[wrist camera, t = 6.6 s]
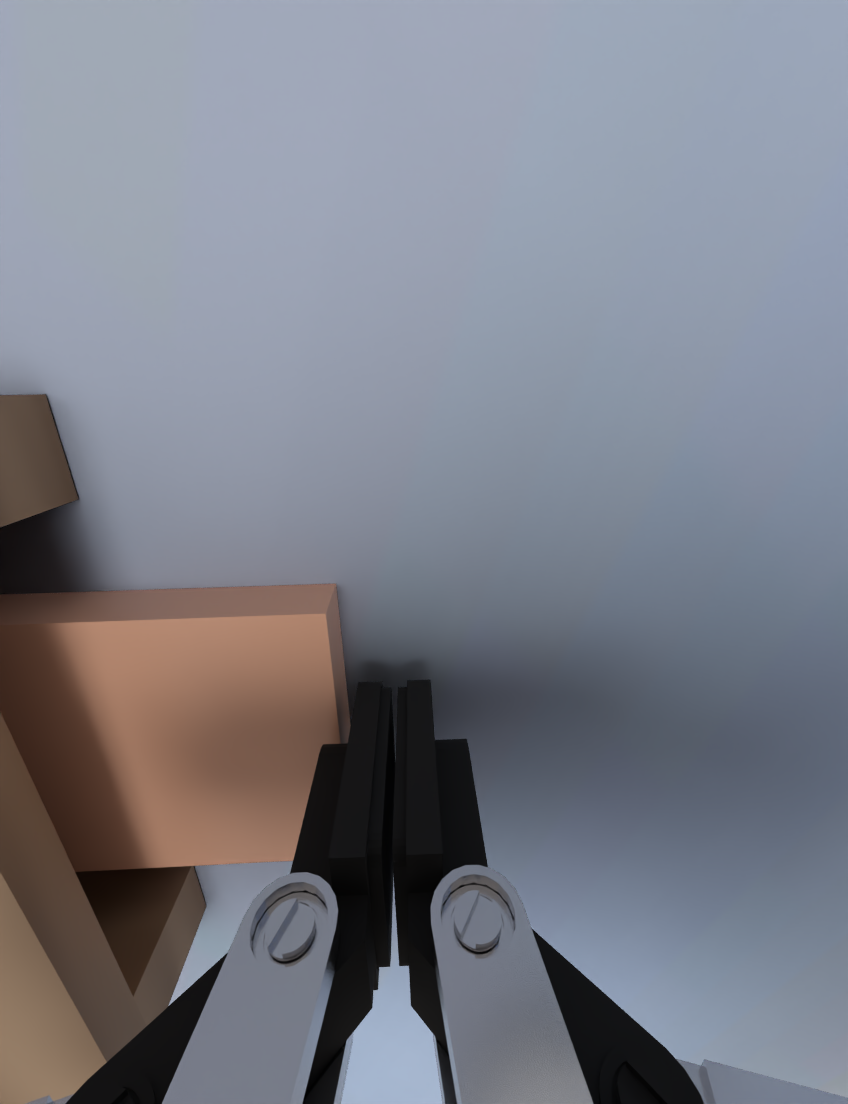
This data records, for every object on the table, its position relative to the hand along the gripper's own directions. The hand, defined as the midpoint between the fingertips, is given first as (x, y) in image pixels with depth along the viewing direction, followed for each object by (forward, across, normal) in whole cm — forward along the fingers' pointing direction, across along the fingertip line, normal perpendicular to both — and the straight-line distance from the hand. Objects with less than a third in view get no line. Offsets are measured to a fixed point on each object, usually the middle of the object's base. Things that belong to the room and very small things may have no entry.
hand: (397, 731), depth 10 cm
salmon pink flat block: (+2, +7, 0) cm, 7 cm away
